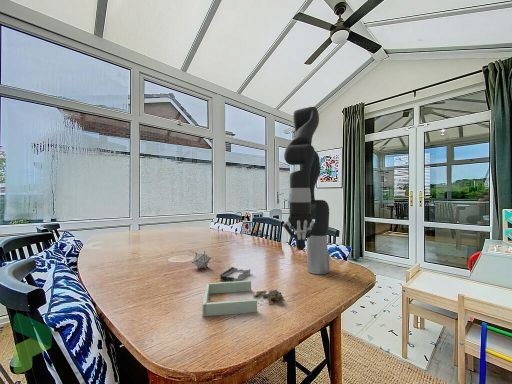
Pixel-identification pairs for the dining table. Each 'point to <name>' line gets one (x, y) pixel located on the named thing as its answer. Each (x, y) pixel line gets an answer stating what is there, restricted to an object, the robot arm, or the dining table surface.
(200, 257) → the grey spiky ball
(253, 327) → the dining table surface
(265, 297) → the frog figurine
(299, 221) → the robot arm
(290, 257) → the dining table surface
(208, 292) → the frame
